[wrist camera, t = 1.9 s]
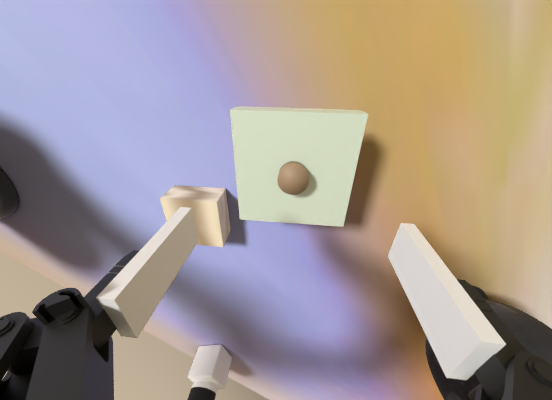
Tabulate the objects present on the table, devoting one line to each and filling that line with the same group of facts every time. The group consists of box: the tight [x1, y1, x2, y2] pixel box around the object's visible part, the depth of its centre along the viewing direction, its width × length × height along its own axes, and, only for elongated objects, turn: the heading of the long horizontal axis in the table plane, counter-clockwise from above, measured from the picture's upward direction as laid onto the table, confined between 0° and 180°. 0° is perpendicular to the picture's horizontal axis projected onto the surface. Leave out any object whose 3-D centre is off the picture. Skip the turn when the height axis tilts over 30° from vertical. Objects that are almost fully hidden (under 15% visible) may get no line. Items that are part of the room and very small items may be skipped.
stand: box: [160, 185, 231, 247], centre depth 32 cm, size 8×8×4 cm
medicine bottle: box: [188, 344, 232, 400], centre depth 53 cm, size 7×7×12 cm
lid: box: [230, 106, 368, 227], centre depth 22 cm, size 12×12×4 cm
